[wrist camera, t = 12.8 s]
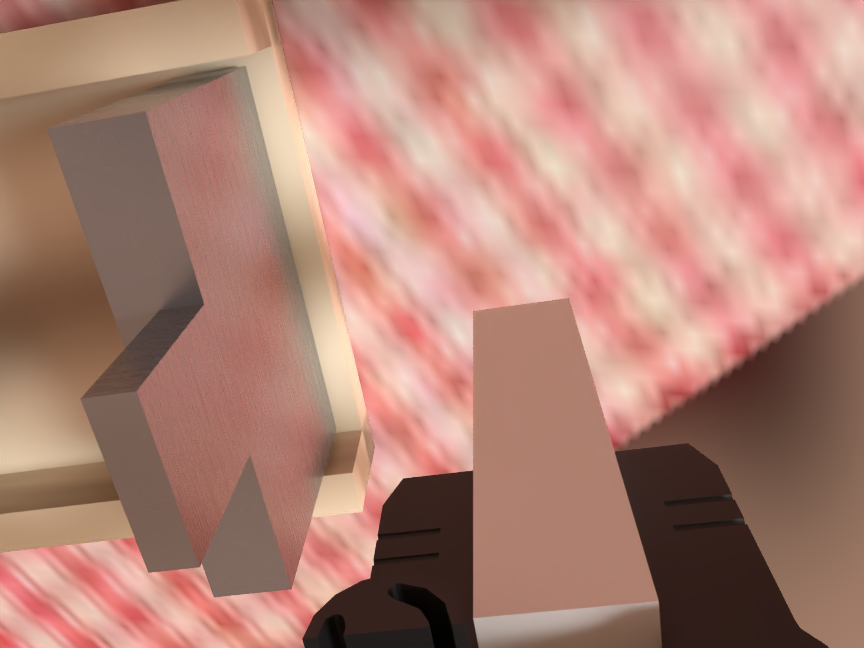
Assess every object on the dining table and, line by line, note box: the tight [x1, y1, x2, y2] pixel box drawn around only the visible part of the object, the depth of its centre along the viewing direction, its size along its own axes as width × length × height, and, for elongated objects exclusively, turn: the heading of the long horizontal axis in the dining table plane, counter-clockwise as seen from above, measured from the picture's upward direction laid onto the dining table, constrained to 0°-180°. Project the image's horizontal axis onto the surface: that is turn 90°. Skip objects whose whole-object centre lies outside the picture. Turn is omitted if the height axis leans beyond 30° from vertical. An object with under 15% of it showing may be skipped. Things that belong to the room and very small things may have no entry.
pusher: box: [47, 66, 336, 597], centre depth 15 cm, size 9×2×9 cm, turn 9°
